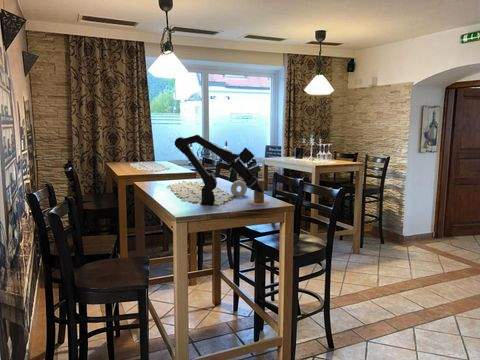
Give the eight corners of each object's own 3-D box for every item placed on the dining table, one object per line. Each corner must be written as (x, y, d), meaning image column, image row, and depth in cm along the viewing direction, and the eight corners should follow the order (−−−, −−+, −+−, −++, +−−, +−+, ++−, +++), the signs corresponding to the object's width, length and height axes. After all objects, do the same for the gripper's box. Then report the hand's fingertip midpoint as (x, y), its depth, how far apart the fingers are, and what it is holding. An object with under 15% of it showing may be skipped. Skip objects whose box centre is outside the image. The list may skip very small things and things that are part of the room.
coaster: (248, 206, 197) (248, 204, 197) (246, 201, 209) (246, 200, 209) (271, 206, 198) (271, 204, 198) (268, 201, 210) (268, 200, 210)
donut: (245, 196, 225) (245, 179, 224) (247, 197, 222) (248, 180, 221) (229, 197, 221) (229, 180, 220) (232, 198, 218) (232, 181, 217)
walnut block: (254, 203, 201) (254, 180, 199) (253, 201, 206) (254, 179, 204) (263, 203, 201) (264, 180, 199) (263, 201, 206) (263, 179, 204)
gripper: (253, 160, 191) (274, 183, 193) (251, 157, 209) (271, 177, 211) (237, 176, 192) (258, 198, 194) (236, 171, 210) (256, 191, 212)
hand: (261, 190), depth 203 cm, fingers open, 9 cm apart
